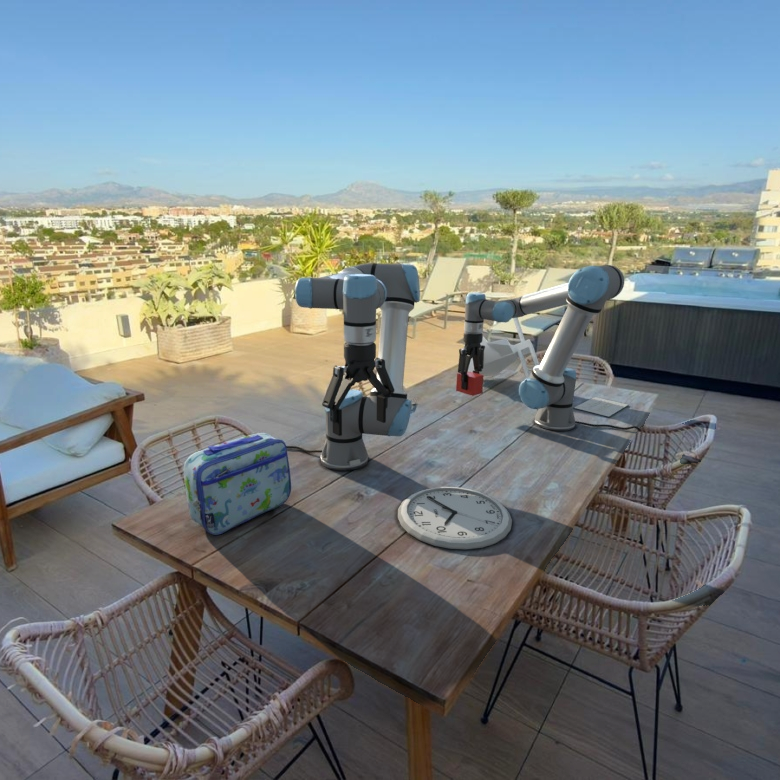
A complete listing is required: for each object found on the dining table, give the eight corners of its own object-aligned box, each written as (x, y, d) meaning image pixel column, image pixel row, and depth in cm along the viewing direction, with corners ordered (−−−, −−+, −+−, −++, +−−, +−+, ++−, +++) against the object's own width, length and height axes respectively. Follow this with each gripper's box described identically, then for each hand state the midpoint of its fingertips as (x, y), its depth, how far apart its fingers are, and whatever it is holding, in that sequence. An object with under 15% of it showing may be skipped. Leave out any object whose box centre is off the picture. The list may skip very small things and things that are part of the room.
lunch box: (204, 544, 124) (196, 463, 118) (184, 526, 131) (176, 449, 125) (295, 506, 142) (292, 434, 136) (274, 491, 149) (270, 423, 143)
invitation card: (608, 416, 214) (573, 407, 224) (608, 416, 214) (573, 408, 224) (628, 404, 229) (594, 396, 238) (628, 405, 229) (594, 397, 238)
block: (455, 390, 217) (457, 372, 215) (465, 388, 221) (466, 370, 219) (472, 396, 211) (474, 377, 208) (482, 393, 215) (483, 375, 212)
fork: (400, 412, 215) (400, 407, 215) (412, 400, 229) (412, 396, 229) (406, 412, 214) (406, 408, 214) (418, 401, 229) (418, 397, 228)
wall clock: (528, 541, 125) (404, 545, 122) (528, 547, 125) (404, 551, 123) (494, 482, 153) (392, 485, 151) (494, 487, 154) (392, 490, 151)
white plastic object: (480, 420, 263) (459, 397, 239) (461, 347, 286) (440, 319, 261) (551, 396, 251) (537, 369, 226) (526, 322, 273) (511, 290, 249)
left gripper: (324, 352, 111) (326, 444, 117) (409, 338, 127) (407, 420, 133) (305, 346, 116) (308, 435, 123) (389, 333, 132) (388, 412, 139)
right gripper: (465, 336, 199) (461, 394, 206) (495, 331, 212) (491, 385, 219) (450, 333, 205) (447, 389, 212) (480, 328, 217) (477, 381, 224)
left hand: (359, 427), depth 128 cm, fingers open, 13 cm apart
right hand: (469, 387), depth 215 cm, fingers closed on block, 6 cm apart
